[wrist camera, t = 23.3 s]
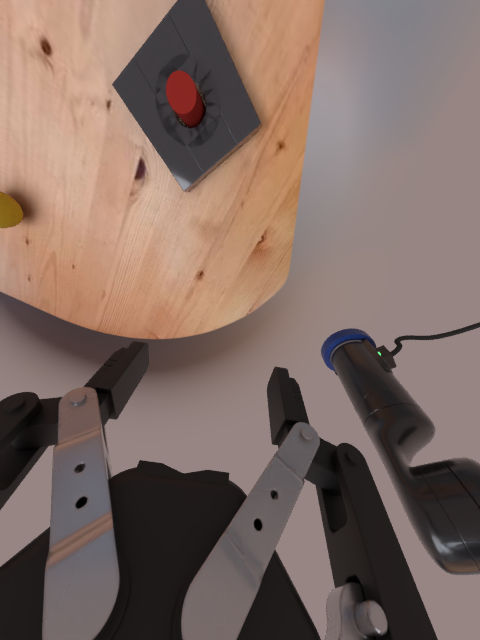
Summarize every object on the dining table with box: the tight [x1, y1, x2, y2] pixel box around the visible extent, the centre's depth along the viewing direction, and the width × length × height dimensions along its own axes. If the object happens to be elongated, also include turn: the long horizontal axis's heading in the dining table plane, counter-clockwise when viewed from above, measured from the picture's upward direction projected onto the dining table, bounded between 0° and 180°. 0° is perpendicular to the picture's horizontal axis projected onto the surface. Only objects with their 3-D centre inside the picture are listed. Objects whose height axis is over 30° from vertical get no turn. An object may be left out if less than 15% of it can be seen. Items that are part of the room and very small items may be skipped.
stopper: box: [166, 71, 206, 128], centre depth 26 cm, size 4×4×6 cm
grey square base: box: [112, 0, 261, 192], centre depth 28 cm, size 14×14×2 cm
